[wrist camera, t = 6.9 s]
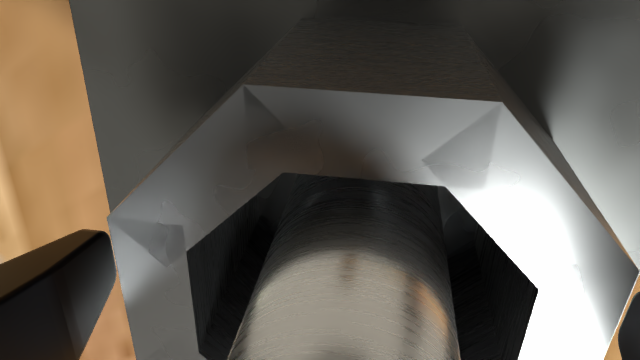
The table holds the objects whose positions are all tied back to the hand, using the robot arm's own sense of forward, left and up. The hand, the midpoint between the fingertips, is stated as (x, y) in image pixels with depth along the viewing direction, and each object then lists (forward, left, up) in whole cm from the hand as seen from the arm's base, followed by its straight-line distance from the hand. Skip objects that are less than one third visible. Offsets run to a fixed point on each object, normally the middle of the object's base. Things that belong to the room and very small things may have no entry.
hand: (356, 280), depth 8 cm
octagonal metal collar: (0, 0, -3) cm, 3 cm away
